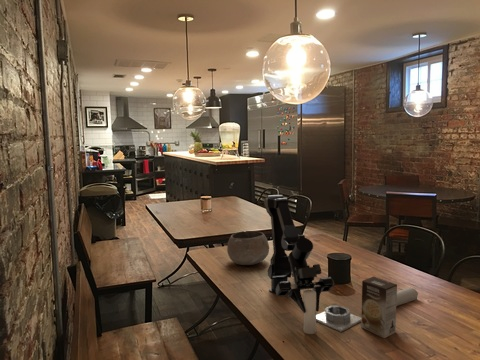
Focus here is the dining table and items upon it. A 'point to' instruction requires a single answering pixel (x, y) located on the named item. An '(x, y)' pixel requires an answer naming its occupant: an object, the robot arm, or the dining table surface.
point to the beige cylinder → (309, 311)
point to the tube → (406, 296)
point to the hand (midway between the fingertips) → (311, 311)
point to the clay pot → (248, 247)
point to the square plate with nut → (338, 318)
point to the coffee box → (379, 306)
